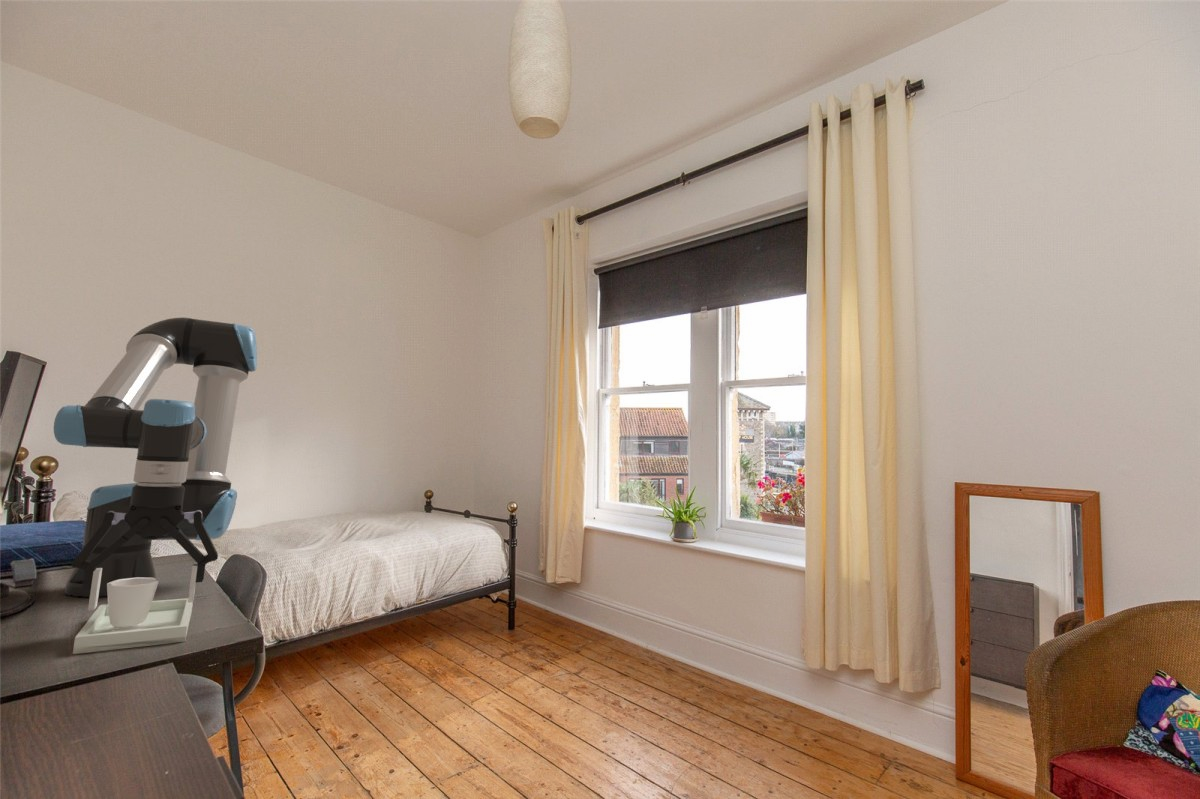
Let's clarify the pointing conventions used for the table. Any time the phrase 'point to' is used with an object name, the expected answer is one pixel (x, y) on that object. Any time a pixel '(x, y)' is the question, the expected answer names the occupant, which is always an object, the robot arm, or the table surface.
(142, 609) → the cup
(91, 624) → the tray
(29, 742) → the table surface
